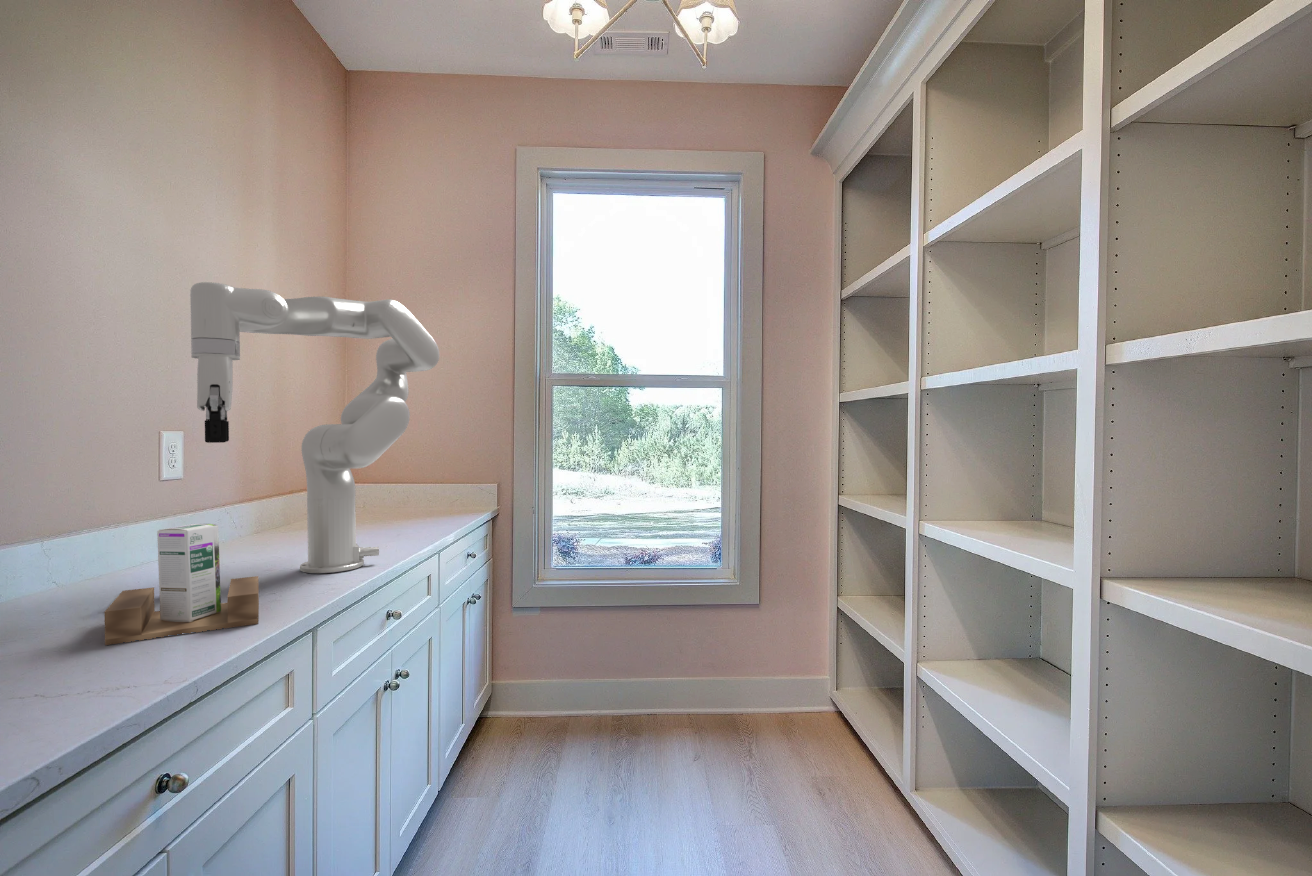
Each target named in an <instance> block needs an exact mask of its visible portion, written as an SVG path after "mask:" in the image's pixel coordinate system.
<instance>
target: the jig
mask: <svg viewBox="0 0 1312 876" xmlns="http://www.w3.org/2000/svg"><path fill="white" fill-rule="evenodd" d="M259 592H260V591H259V575H256V576H247V577H238V578H237V577H236V578H230V582H229V587H228V592H227V597H226V598H227V599H226V600H227V601H226V602H221V611H220V612H219V613H215V614H212V615H209V616H206V617H203V618H200V619H196V620H194V621H192V622H173V621H164V620H161V619H160V610H158V611H155V587H146V588H135V589H134V588H133V589H126V590H122V591H120V593H119V594H118V595H117V597H116V598H115V599H114V600H113V601H112V602H111V603H110V604H109V606H108V607H107V608H106V609H105V611H103V613H104V614H103V615H104V616H103V617H104V646H109V645H116V644H117V645H118V644H124V643H123V642H125V643H130V642H131V641H132V642H136V641H135V640H139V641H145V640H144V639H147V640H151V639H152V638H154V639H157V638H156V637H161V638H165V637H164V636H168V635H175V636H178V635H177V634H182V633H189V634H192V633H191V632H196V633H201V632H202V631H203V632H208V631H207V630H210V631H216V629H217V630H223V629H222V628H224V629H230V628H238V627H245V626H246V627H247V626H251V625H252V626H253V625H258V624H259V619H260V618H259V614H260V613H259V611H260V610H259V609H260V608H259V605H260V603H259V602H260V598H259V595H260V594H259ZM182 635H183V634H182ZM168 637H169V636H168ZM152 640H153V639H152ZM132 642H131V643H132Z"/></svg>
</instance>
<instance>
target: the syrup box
mask: <svg viewBox="0 0 1312 876" xmlns="http://www.w3.org/2000/svg"><path fill="white" fill-rule="evenodd" d="M219 532H220V531H219V525H218V524H214V523H194V524H193V523H191V524H186V525H181V526H174V527H170V528H167V527H166V528H163V529H158V530H157V531H156V533H157V534H156V537H157V558H158V559H157V561H158V562H157V565H158V588H159V589H158V590H159V591H158V593H159V611H160V619H161V620H164V621H173V622H192V621H194V620H196V619H200V618H203V617H206V616H209V615H212V614H215V613H219V612H220V611H221V603H222V602H221V601H222V599H221V597H222V596H221V571H220V568H221V567H220V565H221V564H220V563H221V562H220V540H219V539H220V537H219V535H220V534H219Z"/></svg>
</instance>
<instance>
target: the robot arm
mask: <svg viewBox="0 0 1312 876" xmlns="http://www.w3.org/2000/svg"><path fill="white" fill-rule="evenodd" d="M189 293H190V295H189V296H190V299H189V300H190V301H189V302H190V303H189V304H190V337H191V338H190V344H191V347H190V350H191V351H190V353H191V358H192V359H198V360H197V373H196V375H197V380H196V381H197V382H196V383H197V387H196V388H197V389H196V390H197V391H196V392H197V393H196V408H197V409H198V410H199V411H201V412H204V411H205V420H204V441H205V443H206V444H207V443H208V444H211V443H213V444H214V443H216V444H217V443H227V442H229V441H230V421H229V420H228V411H230V410H231V408H232V399H233V388H234V387H233V382H234V381H233V380H234V379H233V375H234V374H233V372H234V371H233V368H234V367H233V363H234V362H233V361H240V360H241V341H240V336H241V335H240V333H252V334H266V335H267V334H269V335H292V336H293V335H295V336H305V337H306V336H307V337H334V338H335V337H336V338H351V339H366V340H367V339H368V340H369V339H371V340H372V339H380V338H381V339H382V338H390V339H387V340H385V341H382V343H381V344H380V345H378V348H377V350H376V355H375V361H376V368H377V369H376V370H377V371H376V376H375V379H374V380H373V381H372V382H371V384H369V385H368V386H367V387H366V388H365V389H364V390H362V391H361V393H359V394H358V395H356V396H355V397H354V398H353V399H352V400H351V401H350V402H349V403H347V404H346V406H345V407H344V408H343V410H342V412H341V415H340V423H334V424H333V423H330V424H327V423H326V424H320V425H317V426H314V427H313V428H311V429H310V430H309V431H307V432H306V434H305V435H304V437H303V439H302V442H301V456H302V460H303V466H304V471H305V477H306V493H307V494H306V509H307V510H306V512H307V514H306V515H307V517H306V518H307V561H305V562H302V563H301V564H300V565H299V571H301V572H302V573H308V574H332V573H337V572H338V573H341V572H345V571H347V572H348V571H352V570H355V569H358V568H361V567H363V566H364V564H365V560H364V557H375V556H377V557H378V556H380V548H379V546H373V547H372V546H367V547H363V546H361V547H360V546H359V545H358V543H357V534H356V533H357V528H356V527H357V526H356V525H357V522H356V521H357V520H356V496H357V495H356V482H355V478H354V475H353V472H352V470H351V469H363V468H366V467H368V466H370V465H372V464H373V463H375V462H376V461H377V460H378V459H380V457H381V456H382V455H383V454H384V453H385V452H387V450H388V449H390V447H392V445H393V444H394V443H396V441H398V439H399V438H400V437H401V436H403V434H404V433H405V431H406V430H407V428H408V426H409V423H410V420H411V419H410V416H411V413H410V409H409V406H408V404H407V403H406V402H407V399H408V397H409V393H410V390H409V382H408V375H407V373H414V372H415V373H416V372H426V371H429V370H432V369H433V368H435V367H436V366H437V365H438V363H439V361H440V349H439V346H438V343H437V342H436V341H435V339H434V338H433V336H432V335H431V334H430V332H428V330H426V328H425V327H424V325H422V324H421V322H419V320H418V319H417V318H416V317H415V316H414V315H413V314H412V312H411V311H410V310H409V309H407V307H405V305H403V304H402V303H400V302H399V301H397V300H394V299H391V298H390V299H380V300H375V301H363V300H354V299H346V298H345V299H344V298H338V297H336V298H335V297H329V296H306V297H298V298H295V297H293V298H283V297H282V296H281V295H279V294H278V293H276V292H274V291H271V290H267V289H262V288H261V289H260V288H259V289H258V288H243V287H233V286H232V285H229V284H225V283H219V282H210V281H208V282H207V281H205V282H204V281H203V282H197V283H194V284H193V285H192V286H191V287H190V292H189Z"/></svg>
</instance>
